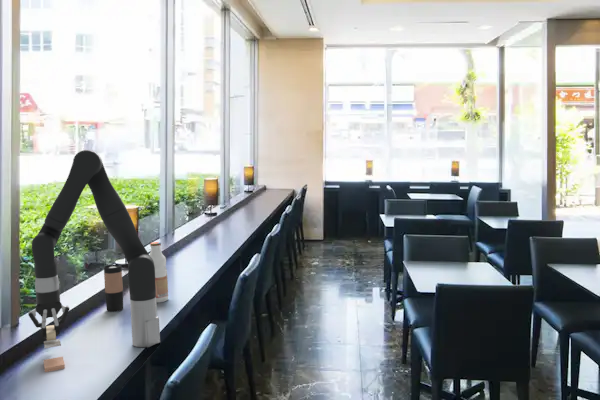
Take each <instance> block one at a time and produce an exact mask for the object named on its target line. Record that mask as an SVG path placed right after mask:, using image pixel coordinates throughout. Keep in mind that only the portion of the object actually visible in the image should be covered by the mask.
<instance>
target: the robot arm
mask: <svg viewBox="0 0 600 400" xmlns="http://www.w3.org/2000/svg"><path fill="white" fill-rule="evenodd" d="M86 186H88V187H89V189H90V191H91V193H92V197H93V201H94V203H95V206H96V209H97V211H98V215H99V216H100V219H101V220H102V222H103V224H104V226H105V228H106V230H107V231H108V233H109V234H110V235H111V237H112V238H113V240H114V241H115V242H116V243H117V245H119V248H120V249H121V251H122V253H123V255H124V257H125V260H126V263H127V267H128V268H127V272H128V274H127V275H128V288H129V290H128V291H129V299H130V300H129V302H130V304H129V305H130V323H131V324H130V325H131V339H132V346H133V347H136V348H150V347H152V346H155V345H157V344H159V343H161V333H160V332H161V330H160V318H159V316H158V314H157V313H158V312H157V311H158V309H157V303H156V285H155V266H154V261H153V259H152V258H151V256H150V253H149V252H148V251H147V249H146V248H145V246H144V244H143V242H142V241H141V240H140V237H139V235H138V232H137V229H136V227H135V224H134V221H133V219H132V217H131V215H130V213H129V210H128V209H127V207H126V205H125V203H124V202H123V200H122V198H121V197H120V195H119V194H118V192H117V190H116V189H115V187H114V186H113V184H112V182H111V180H110V178H109V176H108V174H107V171H106V169H105V166H104V163H103V159H102V157H101V156H100V154H98V152H96V151H95V150H91V149H83V150H80V151H78V152H77V153H76V154H75V156H74V157H73V161H72V164H71V167H70V170H69V173H68V176H67V178H66V180H65V182H64V185H63V186H62V189H61V190H60V192H59V194H58V195H57V196H56V199H54V202H53V204H52V205H51V207H50V209H49V211H48V212H47V215H46V216H45V219H44V223H43V225H42V226H41V228H40V230H39V231H38V233H37V234H36V236H34V237H33V239H32V241H31V251H32V253H31V254H32V257H33V258H32V259H33V261H34V273H35V275H34V276H35V283H34V285H35V288H34V289H35V298H36V299H35V301H36V306H35V309H33V310H30V311H28V317H29V318H30V320H31V321H32V322H33V325H34V326H35V328H41V336H42V338H44V339H47V334H46V326H47V325H46V324H47V319H48V318H52V319H53V322H54V324H53V325H54V328H55V332H56V337H58V335H59V334H60V325H62V324H64V323H65V320H66V318H67V316H68V314H69V311H70V306H69V305H63V304H62V302H61V296H60V281H59V280H60V279H59V277H58V276H59V275H58V265H57V261H56V259H55V247H56V245H57V244H58V241H59V239H60V237H61V234H62V233H63V230H64V229H65V227H66V226H67V223H69V220H70V218H71V217H72V214H73V213H74V211H75V208H76V206H77V204H78V201H79V199H80V197H81V195H82V193H83V191H84V189H85V187H86ZM60 311H61V312H62V314H61V317H60V319H58V316H57V315H58V314H59V312H60ZM37 314H39V316H40V317H41V322H39V320H38V319H37V317H36V316H37Z"/></svg>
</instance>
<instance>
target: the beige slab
mask: <svg viewBox="0 0 600 400" xmlns="http://www.w3.org/2000/svg"><path fill="white" fill-rule="evenodd" d="M54 325H55V324H52V325H51V324H50V325H46V334H47V338H46V340H44V341H43V346H44V349H51V348H56V347H61V346H62V343H61V340H60V338H57V336H56V332H55V328H54Z"/></svg>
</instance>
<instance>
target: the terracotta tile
mask: <svg viewBox="0 0 600 400" xmlns="http://www.w3.org/2000/svg"><path fill="white" fill-rule="evenodd" d="M64 368H66V364H65V360H64V356H58V357H52V358H48V359H47V358H46V359H43V369H44V373H49V372H53V371H59V370H63V369H64Z"/></svg>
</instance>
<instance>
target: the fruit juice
mask: <svg viewBox="0 0 600 400" xmlns="http://www.w3.org/2000/svg"><path fill="white" fill-rule="evenodd" d="M149 244H150V245H149V246H150V252H149V255H150V256H151V258H152V259H153V261H154V266H155V285H156V304H157V303H164V302H166V301H168V300H169V286H168V281H169V280H168V271H167V267H166V265H167V257H166V256H165V255H164V254H163V251H162V249H161V246H162V243H161V242H160V241H153V242H150V243H149Z"/></svg>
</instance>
